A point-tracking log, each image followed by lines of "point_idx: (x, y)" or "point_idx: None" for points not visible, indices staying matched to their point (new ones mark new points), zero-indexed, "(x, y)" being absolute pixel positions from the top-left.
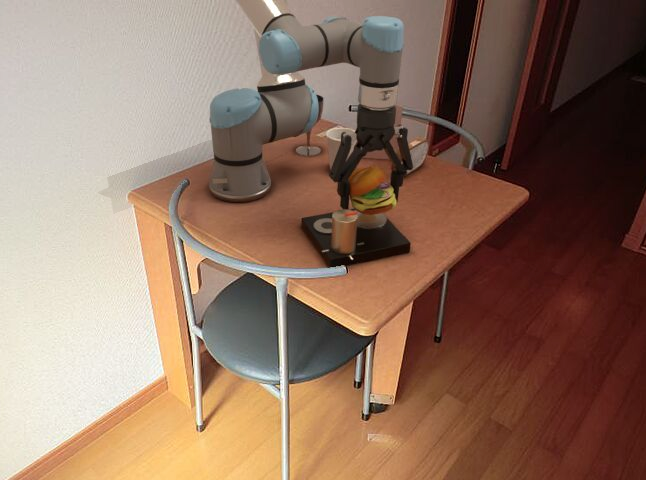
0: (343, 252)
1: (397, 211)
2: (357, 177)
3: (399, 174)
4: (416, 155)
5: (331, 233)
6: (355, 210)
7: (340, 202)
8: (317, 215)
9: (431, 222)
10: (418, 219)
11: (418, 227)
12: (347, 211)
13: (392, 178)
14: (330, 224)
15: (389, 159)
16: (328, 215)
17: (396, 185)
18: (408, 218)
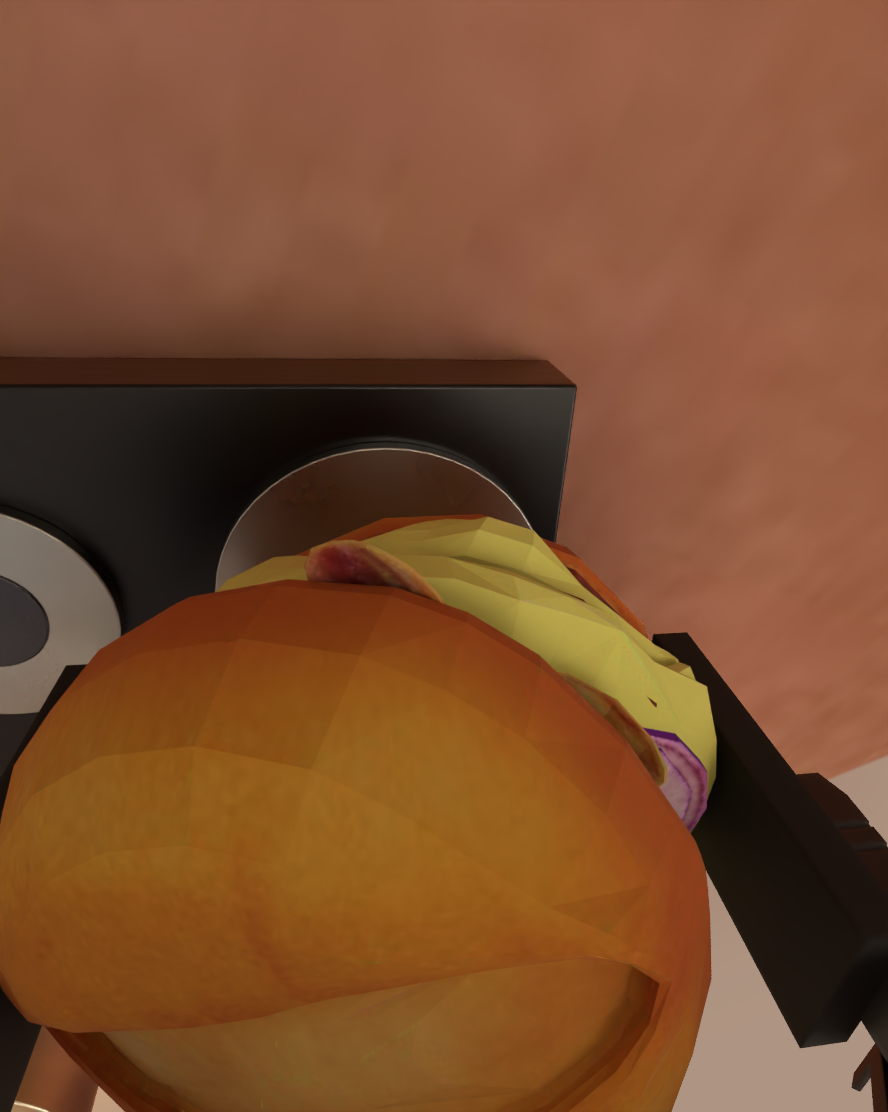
0: None
1: (747, 384)
2: (180, 1064)
3: (852, 1028)
4: None
5: (11, 710)
6: (333, 459)
7: (48, 701)
8: None
9: (827, 588)
10: (788, 535)
11: (714, 616)
12: None
13: (778, 865)
14: (15, 617)
15: None
16: (32, 432)
17: (722, 900)
18: (741, 503)
